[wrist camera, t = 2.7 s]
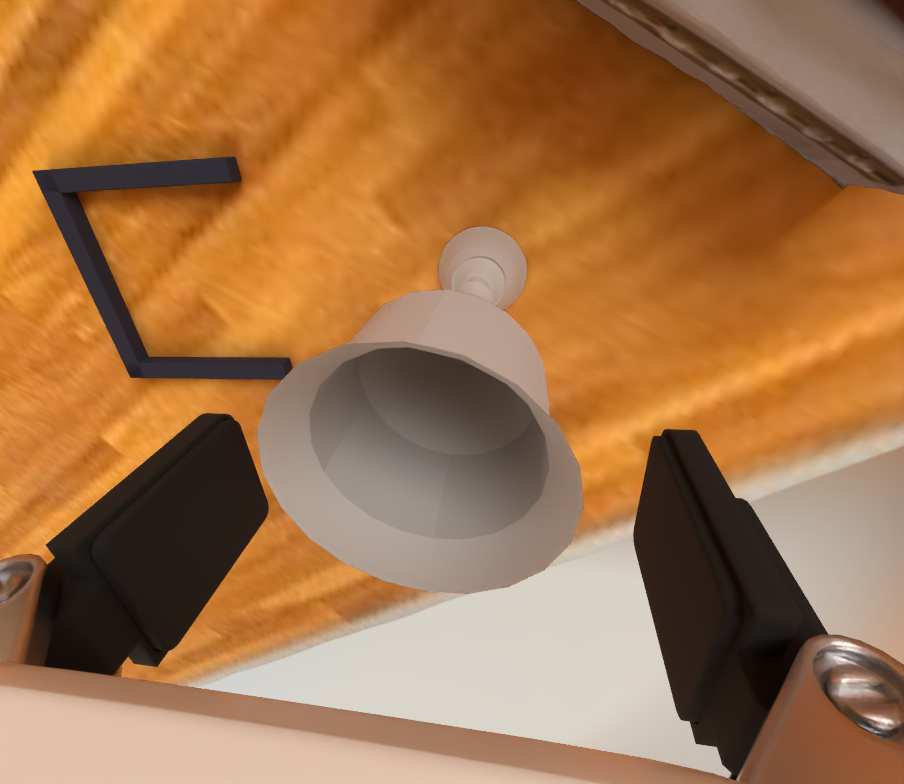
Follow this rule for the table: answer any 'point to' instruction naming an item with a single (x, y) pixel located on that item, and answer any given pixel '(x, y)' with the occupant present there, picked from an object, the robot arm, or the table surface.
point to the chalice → (430, 436)
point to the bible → (792, 71)
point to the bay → (98, 277)
